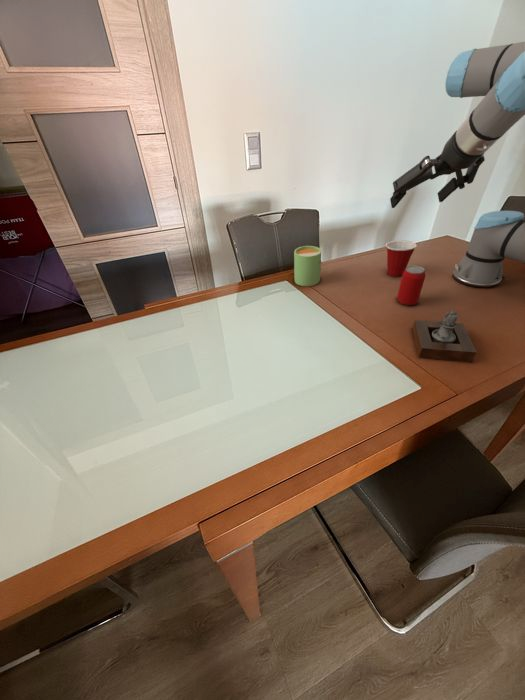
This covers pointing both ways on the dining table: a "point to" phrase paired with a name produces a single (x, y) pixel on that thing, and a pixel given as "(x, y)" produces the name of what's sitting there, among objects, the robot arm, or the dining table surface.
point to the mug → (307, 265)
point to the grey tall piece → (446, 329)
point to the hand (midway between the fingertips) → (415, 200)
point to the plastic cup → (398, 256)
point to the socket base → (444, 351)
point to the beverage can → (411, 285)
